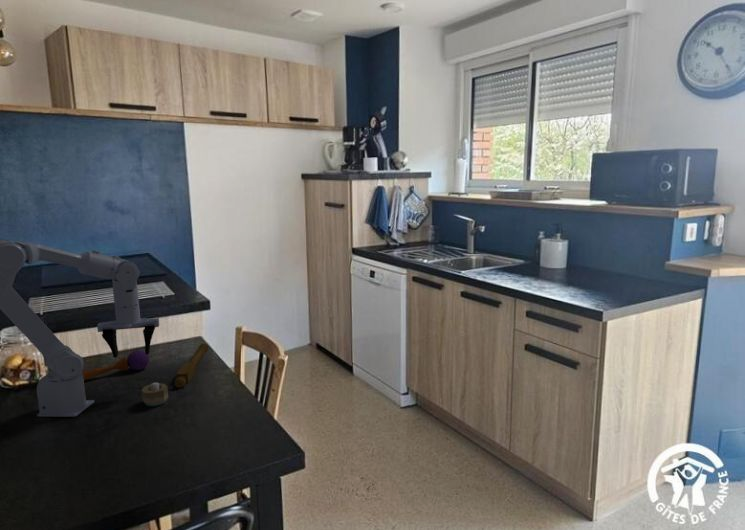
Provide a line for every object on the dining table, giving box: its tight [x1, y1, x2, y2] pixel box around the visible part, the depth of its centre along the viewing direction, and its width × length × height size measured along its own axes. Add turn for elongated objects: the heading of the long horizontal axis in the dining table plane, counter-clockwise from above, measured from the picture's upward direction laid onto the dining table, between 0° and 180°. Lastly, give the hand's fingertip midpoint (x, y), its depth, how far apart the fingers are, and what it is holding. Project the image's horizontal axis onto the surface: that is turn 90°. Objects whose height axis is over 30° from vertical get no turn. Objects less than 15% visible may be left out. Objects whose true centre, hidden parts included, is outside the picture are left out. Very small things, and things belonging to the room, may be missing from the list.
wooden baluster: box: [174, 343, 209, 389], centre depth 147 cm, size 3×3×30 cm
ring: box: [141, 382, 169, 405], centre depth 124 cm, size 6×6×3 cm
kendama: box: [82, 349, 150, 382], centre depth 142 cm, size 6×6×20 cm
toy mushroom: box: [145, 382, 168, 407], centre depth 124 cm, size 5×5×5 cm
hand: (132, 354), depth 130 cm, fingers open, 7 cm apart
